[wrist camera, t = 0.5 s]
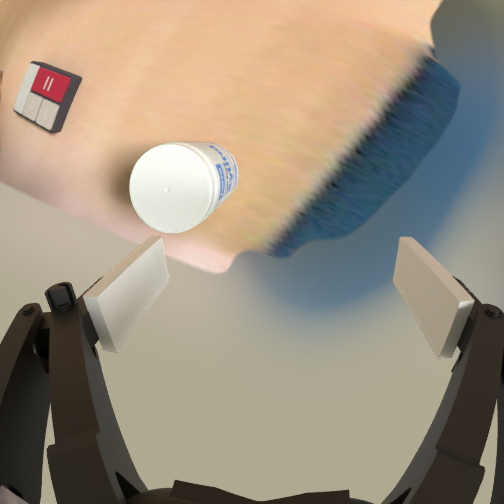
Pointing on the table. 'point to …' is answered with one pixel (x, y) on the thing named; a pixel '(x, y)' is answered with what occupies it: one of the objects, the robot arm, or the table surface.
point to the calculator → (46, 95)
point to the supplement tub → (181, 184)
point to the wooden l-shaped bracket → (0, 81)
